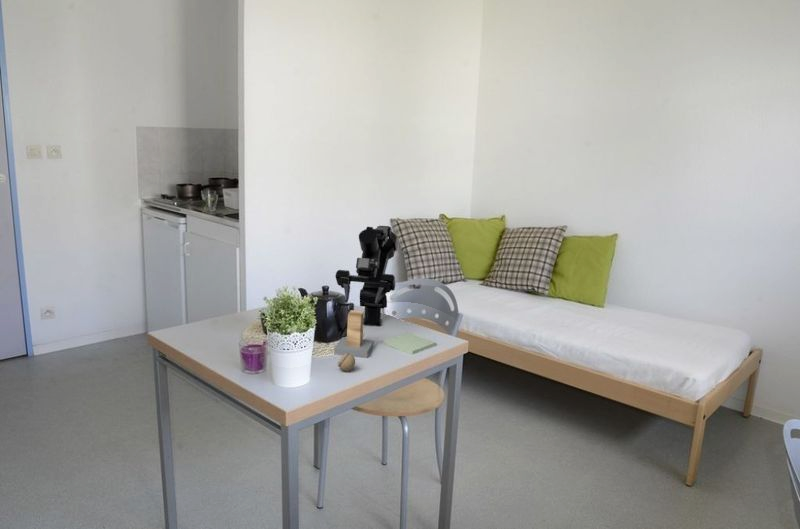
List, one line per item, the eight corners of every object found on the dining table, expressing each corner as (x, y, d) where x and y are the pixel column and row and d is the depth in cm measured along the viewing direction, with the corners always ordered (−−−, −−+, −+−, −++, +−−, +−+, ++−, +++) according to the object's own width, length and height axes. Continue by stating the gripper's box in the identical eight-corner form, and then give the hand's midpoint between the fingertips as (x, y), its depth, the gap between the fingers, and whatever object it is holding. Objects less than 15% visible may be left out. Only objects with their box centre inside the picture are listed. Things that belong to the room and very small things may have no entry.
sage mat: (383, 343, 192) (383, 340, 192) (407, 335, 201) (407, 332, 201) (412, 354, 185) (412, 351, 184) (436, 345, 194) (436, 342, 193)
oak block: (349, 341, 187) (350, 310, 185) (362, 342, 186) (363, 311, 184) (346, 345, 183) (347, 313, 181) (359, 347, 182) (361, 315, 180)
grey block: (342, 343, 191) (342, 337, 190) (373, 346, 189) (373, 340, 189) (334, 354, 181) (334, 347, 180) (367, 357, 180) (367, 351, 179)
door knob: (350, 366, 173) (351, 349, 172) (357, 372, 168) (358, 355, 167) (334, 368, 170) (334, 351, 169) (341, 375, 166) (342, 357, 165)
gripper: (337, 244, 192) (327, 287, 183) (396, 249, 189) (388, 292, 181) (342, 264, 201) (333, 305, 193) (398, 269, 199) (391, 310, 190)
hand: (360, 303), depth 189 cm, fingers open, 9 cm apart
